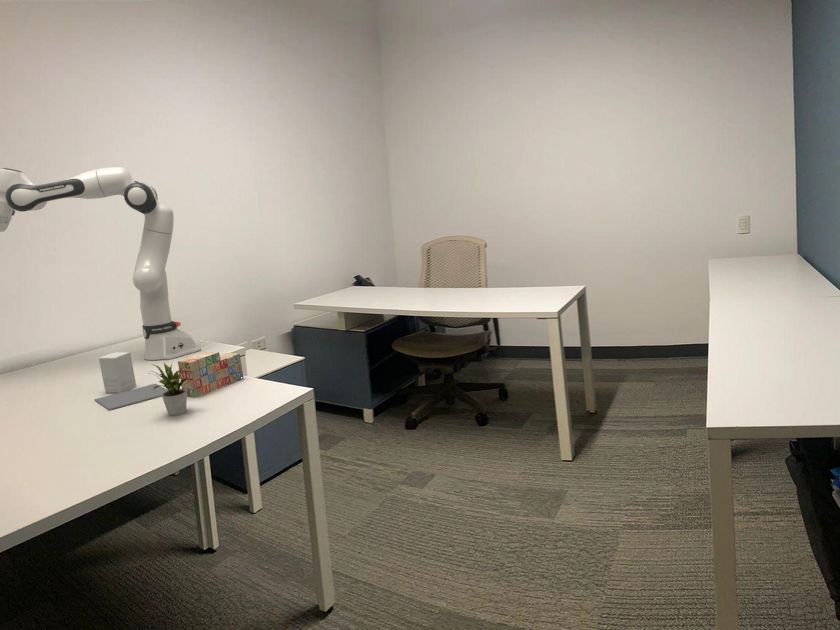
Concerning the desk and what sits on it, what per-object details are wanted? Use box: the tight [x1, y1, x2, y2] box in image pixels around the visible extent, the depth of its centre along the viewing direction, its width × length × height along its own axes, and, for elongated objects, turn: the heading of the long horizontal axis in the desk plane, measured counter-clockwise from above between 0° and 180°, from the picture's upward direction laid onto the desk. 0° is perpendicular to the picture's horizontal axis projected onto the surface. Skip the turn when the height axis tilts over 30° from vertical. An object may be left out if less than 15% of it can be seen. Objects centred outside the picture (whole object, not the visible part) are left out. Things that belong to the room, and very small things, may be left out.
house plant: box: [148, 361, 192, 416], centre depth 185 cm, size 14×14×16 cm
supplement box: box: [98, 351, 137, 394], centre depth 214 cm, size 7×7×13 cm
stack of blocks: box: [177, 350, 244, 399], centre depth 209 cm, size 21×6×12 cm, turn 151°
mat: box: [94, 383, 168, 411], centre depth 206 cm, size 20×16×1 cm
